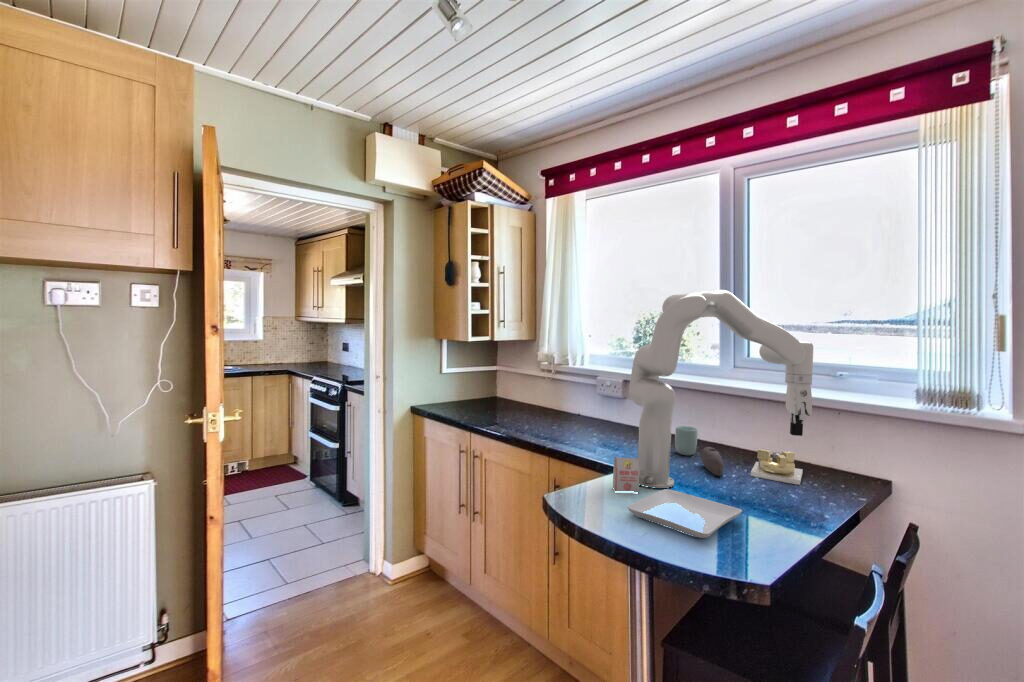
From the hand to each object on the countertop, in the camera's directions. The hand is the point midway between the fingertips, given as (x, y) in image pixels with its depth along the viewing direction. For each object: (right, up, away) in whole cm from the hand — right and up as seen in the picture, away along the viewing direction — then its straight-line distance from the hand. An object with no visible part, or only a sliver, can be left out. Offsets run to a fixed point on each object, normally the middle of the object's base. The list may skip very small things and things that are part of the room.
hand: (796, 434), depth 158 cm
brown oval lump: (-25, -14, +4) cm, 29 cm away
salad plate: (-50, -15, -36) cm, 63 cm away
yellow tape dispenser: (-5, -12, +3) cm, 13 cm away
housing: (-5, -14, +3) cm, 15 cm away
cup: (-27, -12, +25) cm, 39 cm away
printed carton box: (-60, -13, -17) cm, 64 cm away
